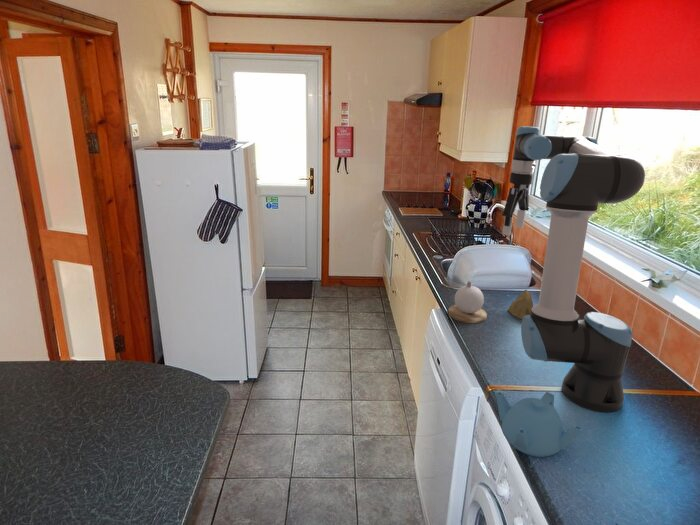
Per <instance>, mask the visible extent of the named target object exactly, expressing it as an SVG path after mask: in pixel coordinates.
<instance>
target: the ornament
mask: <svg viewBox="0 0 700 525" xmlns="http://www.w3.org/2000/svg"><path fill="white" fill-rule="evenodd" d="M484 297H485V296H484V293H483V291H481V289H480V288H478V287H477V286H474V285H472V282H471V281H469V280H468V281H467V283H466V285H462V286H461V287H459V288H458V289H457V291H456V293H455V294H454V305H456V306H457V308H458V309H459V310H461V311H462V312H465V313H475V312H477V311H478V310H480V309H482V307H483V306H484V302H485V298H484Z"/></svg>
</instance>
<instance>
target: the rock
mask: <svg viewBox="0 0 700 525" xmlns="http://www.w3.org/2000/svg"><path fill="white" fill-rule="evenodd" d="M533 306H534V301H533V299H532V294H531V292H530V291H529V290H527V289H525V290H523V291H522V292H520V294H519V295H518V296H517V297H516V298H515V300H513V301H512V302H511V304H510V305H509V307H508V309H507V311H508V312H509V313H510V314H511V316H514V317H516V318H517V319H519V320H521V321H522V320H523V317H524V316H527V315H529V316H530V315H531V309H532V307H533Z"/></svg>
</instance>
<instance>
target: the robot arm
mask: <svg viewBox="0 0 700 525" xmlns="http://www.w3.org/2000/svg"><path fill="white" fill-rule="evenodd" d="M541 160H549V162H548V163H547V164H546V166H545V168H544V171H543V173H542V177H541V180H540V186H539V190H540V191H539V192H540V193H539V196H540V198H541V200H542V201H544V202H546V204H545V208H546V209H547V210H548V212H549V213H550V215H551V216H550V222H549V228H548V236H547V241H546V243H547V244H546V248H545V254H544V255H545V256H544V262H543V269H542V277H541V282H540V283H541V285H540V291H539V297H538V302H537V303H536V305H533V307H532V309H531V315H530V316H529V315H527V316H524V317H523V320H522V319H521V324H520V334H521V340H522V346H523V349H524V351H525V354H526V356H527V357H528V358H530V359H532V360H534V361H535V360H536V361H543V362H545V363H546V362H553V363H554V362H555V363H567V364H568V363H569V364H572V366H571V368H570V369H569V370H568V372H567V374H566V375H565V376H564V377H563V380H562V384H561V390H562V393H563V394H564V396H565V397H566V398H567V399H569V400H570V401H571V402H573V403H574V404H576V405H578V406H579V407H582V408H585V409H588V410H591V411H595V412H600V413H601V412H602V413H611V412H612V413H613V412H617V411H619V410H621V409H622V406H623V403H624V400H625V395H624V387H623V382H622V381H623V380H622V377H623V374H624V369H625V366H626V363H627V358H628V355H629V353H630V352H629V351H630V347H632V339H633V331H632V328H631V326H629V325H628V324H627V323H626V322H625V321H622V320H621V319H619V318H617V317H615V316H612V315H610V314H608V313H607V314H606V313H603V312H597V311H590V312H586V314H584V315H583V319H580V314H578V312H577V311H576V310H575V303H576V299H577V298H576V297H577V293H578V292H577V290H578V284H579V279H580V272H581V267H582V261H583V254H584V249H585V242H586V237H587V231H588V224H589V219H590V217H591V216H593V215H594V214H595V213H597V210H598V206H599V204H608V205H609V204H618V203H623V202H625V201H627V200H629V199H631V198H633V197H634V196H635V195H637V194H638V193H639V192H640V190H641V189H642V187H643V186H644V184H645V181H646V170H645V167H644V166H643V164H642V163H641V162H640V161H639V160H638V159H637V158H635V157H633V156H631V155H628V154H623V153H619V154H616V153H614V152H612V151H610V150H609V149H606V148H605V147H603V146H601V145H599V144H598V140H597V139H596V138H595V137H592V136H586V135H581V136H577V135H576V136H575V135H554V134H553V135H551V134H541V128H540V127H539V126H527V125H525V126H524V125H522V126H521V125H520V126H519V127H518V128H517V130H516V134H515V142H514V149H513V156H512V160H511V167H510V170H511V172H510V174H509V175H510V176H509V183H511V184H512V185H513V187H510V188H509V191H508V195H507V199H506V202H505V206H504V208H503V212H502V214H501V215H502V217H504V218H503V219H504V220H503V226H502V232H501V234H502V235H505V236H511V232H512V227H513V221H514V213H515V210H516V208H517V205H518V209H517V213H516V220H515V225H514V227H515V228H519V229H523V228H524V223H525V218H526V212H528V211H529V210H530V208H529V197H530V196H529V192H530V191H529V189H530V185H531V184H533V178H534V174H533V173H534V171H535V168H536V167H537V163H536V161H541Z"/></svg>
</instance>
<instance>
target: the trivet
mask: <svg viewBox="0 0 700 525" xmlns="http://www.w3.org/2000/svg"><path fill="white" fill-rule="evenodd" d="M447 313H448V316H450V318H452V319H454V320H456V321H458V322H460V323H467V324H479V323H483V322H485V321H486V319H487V316H488V314H487V311H485V310H484V309H483V308H481V309H480V310H478V311H477V312H475V313H465V312H462V311H461V310H459V309H458V308H457V306H456V304H453V305H451V306H449V307H448V312H447Z"/></svg>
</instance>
